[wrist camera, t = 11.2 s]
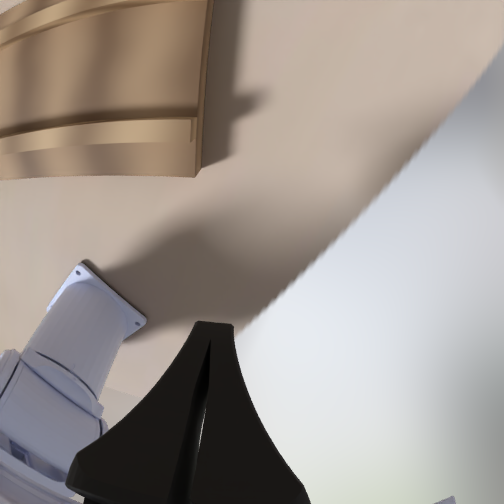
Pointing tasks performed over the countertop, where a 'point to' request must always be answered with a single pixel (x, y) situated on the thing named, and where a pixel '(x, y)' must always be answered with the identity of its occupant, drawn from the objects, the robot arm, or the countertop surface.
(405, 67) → the countertop surface
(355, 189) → the countertop surface
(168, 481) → the robot arm
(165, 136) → the brown wooden rack
